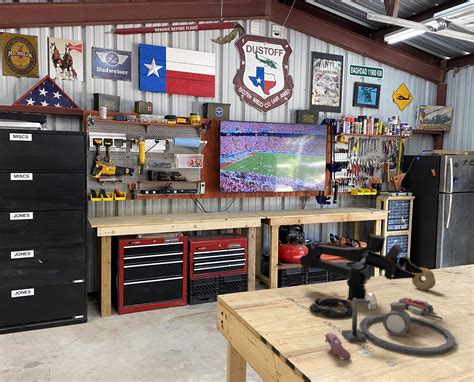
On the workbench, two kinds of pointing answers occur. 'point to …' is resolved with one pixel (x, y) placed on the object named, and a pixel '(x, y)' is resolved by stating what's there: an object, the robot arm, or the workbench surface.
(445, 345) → the ring
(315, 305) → the cable
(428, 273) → the stone disc
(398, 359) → the workbench surface
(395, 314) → the pipe fitting
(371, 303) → the stand
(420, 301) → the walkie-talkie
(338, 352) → the purple elongated lump
